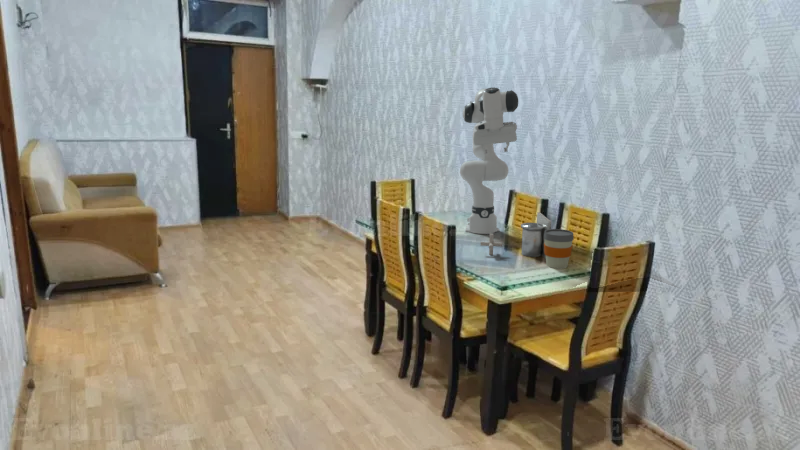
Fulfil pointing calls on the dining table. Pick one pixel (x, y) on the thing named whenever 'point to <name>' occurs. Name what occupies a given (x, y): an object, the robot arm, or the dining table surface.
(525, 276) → the dining table surface
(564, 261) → the reusable coffee cup
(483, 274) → the dining table surface
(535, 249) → the duct stub
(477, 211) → the robot arm
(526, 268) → the dining table surface
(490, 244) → the pipe connector
